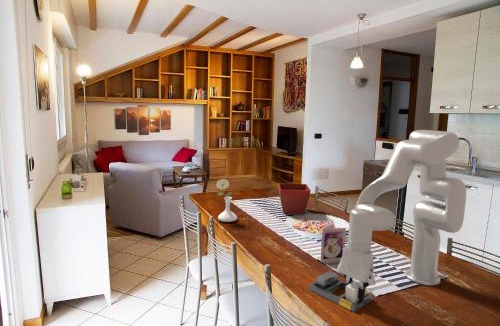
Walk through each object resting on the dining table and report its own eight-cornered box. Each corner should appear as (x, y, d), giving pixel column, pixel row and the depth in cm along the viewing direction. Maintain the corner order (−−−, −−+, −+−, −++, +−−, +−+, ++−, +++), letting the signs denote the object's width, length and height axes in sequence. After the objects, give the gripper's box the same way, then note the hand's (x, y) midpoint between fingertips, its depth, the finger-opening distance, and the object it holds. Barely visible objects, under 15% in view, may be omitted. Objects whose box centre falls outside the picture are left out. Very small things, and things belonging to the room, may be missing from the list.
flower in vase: (238, 218, 211) (239, 177, 208) (235, 224, 200) (236, 181, 196) (217, 216, 213) (217, 176, 209) (213, 222, 201) (213, 180, 198)
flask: (340, 266, 149) (342, 244, 147) (356, 271, 144) (358, 248, 143) (332, 272, 143) (334, 249, 142) (349, 278, 139) (351, 254, 137)
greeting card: (321, 263, 151) (323, 230, 149) (313, 256, 158) (315, 224, 156) (344, 260, 154) (347, 228, 152) (336, 254, 162) (338, 223, 159)
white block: (357, 290, 126) (358, 277, 125) (366, 294, 123) (367, 281, 122) (345, 299, 120) (345, 286, 119) (354, 303, 118) (354, 290, 117)
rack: (328, 279, 137) (328, 267, 136) (372, 299, 123) (374, 286, 122) (308, 289, 129) (309, 276, 128) (354, 312, 115) (355, 298, 114)
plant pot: (309, 216, 219) (311, 190, 216) (279, 215, 219) (280, 189, 216) (305, 208, 238) (306, 183, 235) (277, 207, 238) (278, 183, 235)
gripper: (332, 240, 122) (329, 289, 125) (376, 255, 110) (371, 309, 113) (344, 235, 127) (341, 283, 130) (387, 250, 115) (383, 301, 118)
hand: (355, 294), depth 121 cm, fingers closed on white block, 3 cm apart
